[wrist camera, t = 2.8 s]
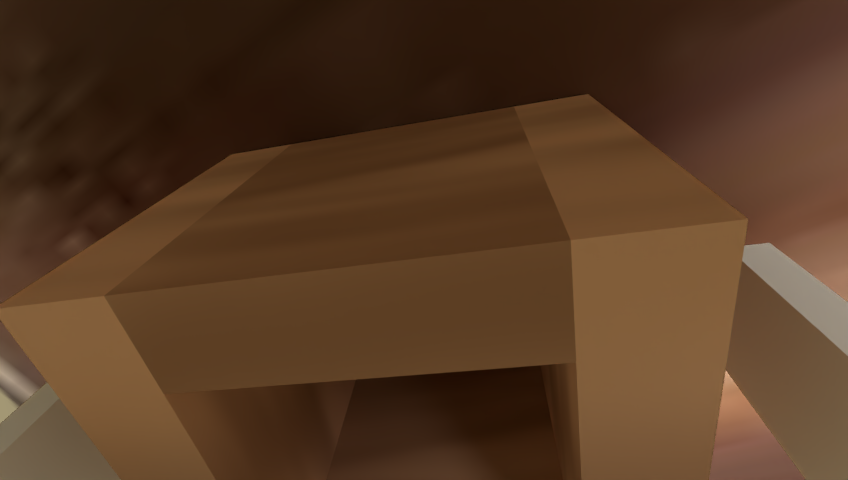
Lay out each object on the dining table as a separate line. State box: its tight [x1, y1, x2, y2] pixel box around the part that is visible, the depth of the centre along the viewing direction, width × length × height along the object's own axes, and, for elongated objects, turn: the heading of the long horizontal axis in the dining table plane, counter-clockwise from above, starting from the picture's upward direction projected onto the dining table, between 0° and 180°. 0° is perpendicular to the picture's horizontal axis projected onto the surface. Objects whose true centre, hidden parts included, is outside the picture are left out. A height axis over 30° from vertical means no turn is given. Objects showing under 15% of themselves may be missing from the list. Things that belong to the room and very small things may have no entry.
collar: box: [0, 94, 748, 480], centre depth 9 cm, size 8×8×6 cm
